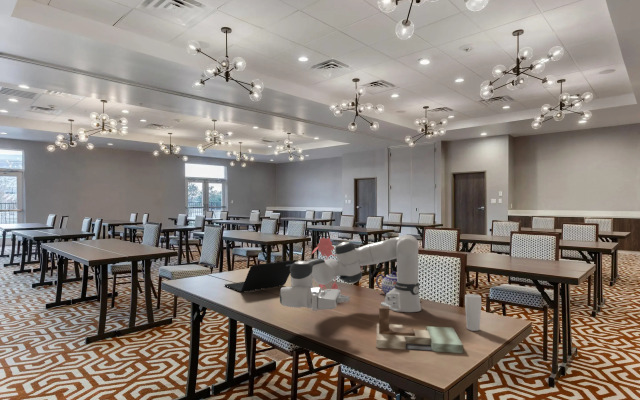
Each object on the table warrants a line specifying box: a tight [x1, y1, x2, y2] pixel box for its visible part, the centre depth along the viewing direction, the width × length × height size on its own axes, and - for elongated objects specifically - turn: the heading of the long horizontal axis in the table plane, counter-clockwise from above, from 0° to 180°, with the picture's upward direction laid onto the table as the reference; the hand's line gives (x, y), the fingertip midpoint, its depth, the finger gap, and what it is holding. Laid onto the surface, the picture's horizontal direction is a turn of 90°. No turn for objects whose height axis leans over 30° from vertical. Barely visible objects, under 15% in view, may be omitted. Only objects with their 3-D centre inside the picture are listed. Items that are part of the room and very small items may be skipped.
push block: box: [378, 305, 415, 336], centre depth 153 cm, size 14×6×10 cm, turn 81°
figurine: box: [311, 236, 339, 290], centre depth 233 cm, size 15×26×35 cm, turn 51°
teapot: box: [375, 270, 397, 295], centre depth 228 cm, size 25×15×15 cm, turn 48°
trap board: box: [375, 323, 464, 354], centre depth 152 cm, size 32×20×3 cm, turn 81°
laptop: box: [224, 259, 297, 293], centre depth 247 cm, size 33×38×19 cm
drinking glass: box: [464, 293, 482, 332], centre depth 166 cm, size 7×7×15 cm
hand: (349, 298), depth 156 cm, fingers closed
